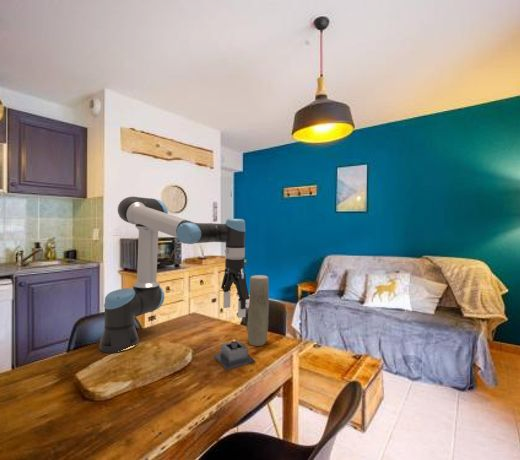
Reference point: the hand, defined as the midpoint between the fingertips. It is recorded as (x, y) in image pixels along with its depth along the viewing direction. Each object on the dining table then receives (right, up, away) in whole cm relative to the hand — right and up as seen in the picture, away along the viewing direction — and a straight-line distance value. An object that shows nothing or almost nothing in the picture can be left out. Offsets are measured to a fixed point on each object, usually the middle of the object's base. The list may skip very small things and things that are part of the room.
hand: (233, 312), depth 110 cm
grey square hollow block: (0, -18, 0) cm, 18 cm away
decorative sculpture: (+7, -19, +17) cm, 27 cm away
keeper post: (0, -19, 0) cm, 19 cm away
